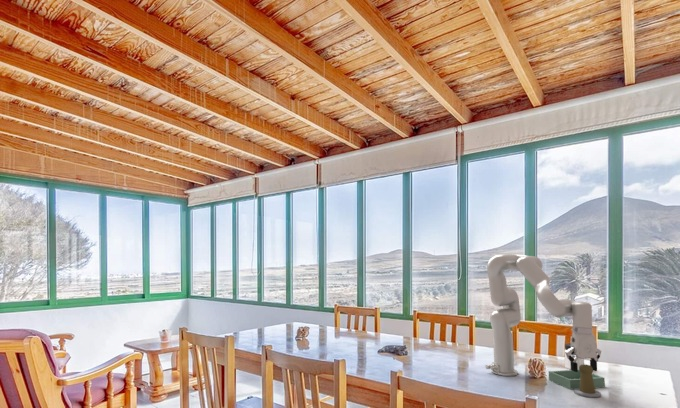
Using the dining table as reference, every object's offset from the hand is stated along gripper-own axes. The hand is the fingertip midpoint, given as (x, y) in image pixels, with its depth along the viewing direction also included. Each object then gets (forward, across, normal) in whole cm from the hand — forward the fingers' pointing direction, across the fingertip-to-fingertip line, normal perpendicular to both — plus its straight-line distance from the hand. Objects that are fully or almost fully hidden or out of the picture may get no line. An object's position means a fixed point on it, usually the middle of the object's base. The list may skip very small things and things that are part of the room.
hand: (584, 370), depth 180 cm
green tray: (+10, +6, +12) cm, 17 cm away
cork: (+9, +1, -1) cm, 9 cm away
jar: (+10, +24, +34) cm, 44 cm away
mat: (+9, 0, -1) cm, 9 cm away
